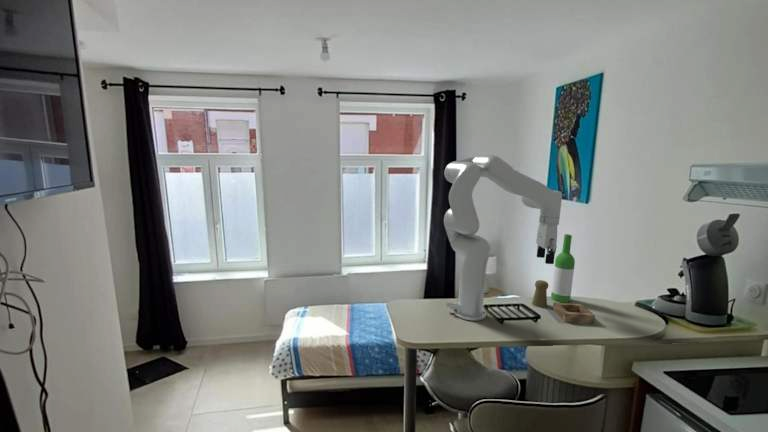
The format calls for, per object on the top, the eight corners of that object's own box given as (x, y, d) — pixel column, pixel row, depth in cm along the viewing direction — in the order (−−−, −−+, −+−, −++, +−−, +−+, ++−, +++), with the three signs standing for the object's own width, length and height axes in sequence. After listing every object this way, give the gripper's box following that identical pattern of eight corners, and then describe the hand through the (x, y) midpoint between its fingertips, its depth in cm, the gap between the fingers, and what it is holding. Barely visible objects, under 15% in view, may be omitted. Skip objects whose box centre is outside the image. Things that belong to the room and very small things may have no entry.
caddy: (564, 322, 138) (565, 313, 138) (552, 310, 149) (553, 302, 149) (593, 324, 138) (595, 315, 137) (580, 312, 149) (581, 304, 148)
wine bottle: (546, 297, 165) (554, 233, 160) (560, 296, 167) (568, 232, 162) (559, 304, 157) (567, 237, 153) (573, 303, 160) (582, 236, 155)
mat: (558, 323, 138) (558, 322, 138) (545, 310, 150) (545, 309, 150) (596, 326, 137) (596, 325, 137) (580, 312, 150) (580, 311, 150)
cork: (548, 309, 151) (551, 284, 150) (533, 307, 153) (536, 282, 151) (545, 303, 157) (547, 279, 156) (530, 302, 158) (533, 278, 157)
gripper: (532, 216, 158) (528, 254, 161) (547, 223, 141) (543, 265, 144) (550, 217, 158) (546, 255, 160) (567, 224, 141) (562, 266, 143)
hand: (544, 260), depth 152 cm, fingers open, 9 cm apart
